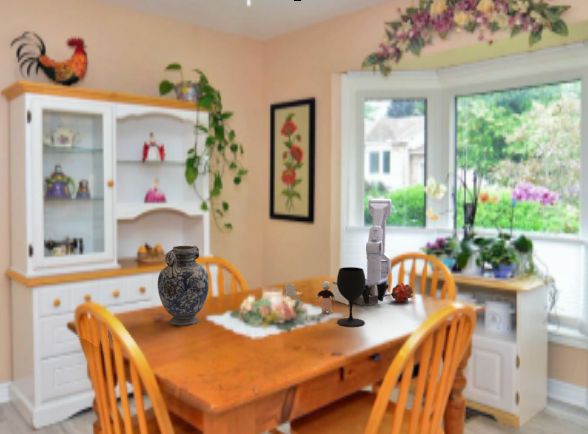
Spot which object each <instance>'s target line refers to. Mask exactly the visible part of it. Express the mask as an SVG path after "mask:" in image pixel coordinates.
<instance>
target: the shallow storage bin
mask: <svg viewBox="0 0 588 434" xmlns="http://www.w3.org/2000/svg"><path fill="white" fill-rule="evenodd" d="M365 280H367V278H365ZM368 287H369V288H371V291H370V293H372V294H375V295H377V285H370V286H368ZM331 292H332V293H333V295H334V297H335V299H336V300H335V302H339V303H342V304H345V305H349V301H348V300H347V299H345V298H344V297H343V296H342V295H341V294H340V292H339V290H338V287H337V280H332V289H331Z"/></svg>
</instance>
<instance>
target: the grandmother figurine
mask: <svg viewBox="0 0 588 434" xmlns="http://www.w3.org/2000/svg"><path fill="white" fill-rule="evenodd" d="M330 287H331V283H330V282H329V281H327V280H326V281H323V282H322V284H321V288H322V290H320V291H319V292H318V293H317V296H316V297H315V299H316V300H319V299H320V297H322V298H321V314H322V313H326V314H327V315H332V314H333V313H334V311H332V301H333V302H336V299H335V297H334V295H333V293H332V290H330ZM331 298H332V299H331Z"/></svg>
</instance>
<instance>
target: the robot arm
mask: <svg viewBox="0 0 588 434" xmlns="http://www.w3.org/2000/svg"><path fill="white" fill-rule="evenodd" d="M368 212H369V214H370V216H371V217H372V226H371V227H370V228H369V232H368V233H369V234H368V241H367V242H366V243H365V244H366V245H365V253H366V260H367V261H366V268H367V269H366V279H367V280H365V281H366V283H365V289H364V291H363V293H362V295H363V299H364V303H366V304H369V295H370V291H371V288H369V287H368V286H370V285H377V295H378V302H383V301H384V297H385V296H388V295H389V296H391V293H392V292H389V291H388V290H389V289H388V288H389V277H388V276H389V275H390V274H391V272H392V260H391V257H390V255H388V254H386V230H387V229H386V228H387V227H386V226H387V225H386V224H387V223H386V222H387V220H388V218H390V217H391V215H392V199H391V198H370V199H368Z"/></svg>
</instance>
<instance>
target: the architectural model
mask: <svg viewBox="0 0 588 434" xmlns="http://www.w3.org/2000/svg"><path fill="white" fill-rule="evenodd" d="M284 285H285V296H286V295H287V296H290V297H291V298H292V299H295V300H296V296H297V295H302V294H303V292H299V291H298V289H296V285H295V284H294V283H285V284H284Z"/></svg>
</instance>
